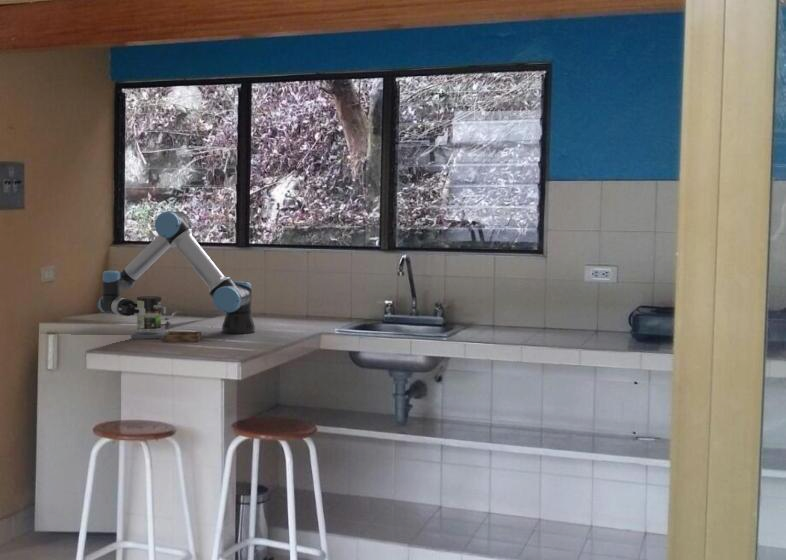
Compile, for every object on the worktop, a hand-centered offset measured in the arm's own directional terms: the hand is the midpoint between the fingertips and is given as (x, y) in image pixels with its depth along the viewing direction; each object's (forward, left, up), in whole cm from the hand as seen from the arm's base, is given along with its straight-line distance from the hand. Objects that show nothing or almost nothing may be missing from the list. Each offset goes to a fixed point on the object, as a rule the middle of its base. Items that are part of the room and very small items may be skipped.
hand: (154, 311), depth 395 cm
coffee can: (+3, -3, -9) cm, 10 cm away
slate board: (+3, -3, -12) cm, 12 cm away
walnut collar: (-12, +5, -12) cm, 18 cm away
